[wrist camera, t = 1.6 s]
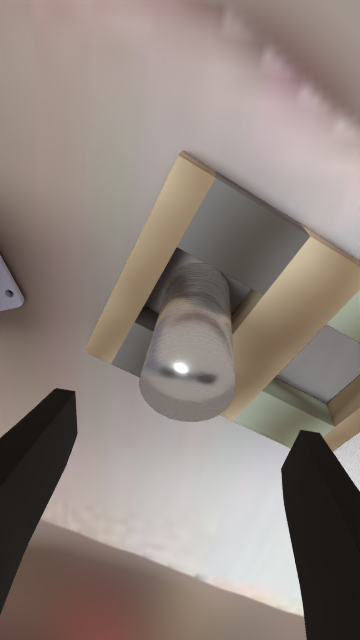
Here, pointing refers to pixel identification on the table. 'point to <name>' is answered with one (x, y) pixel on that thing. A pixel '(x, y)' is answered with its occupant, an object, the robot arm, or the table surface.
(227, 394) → the metal cylinder
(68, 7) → the table surface
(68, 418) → the robot arm
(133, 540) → the table surface
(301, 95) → the table surface
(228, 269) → the tool stand
